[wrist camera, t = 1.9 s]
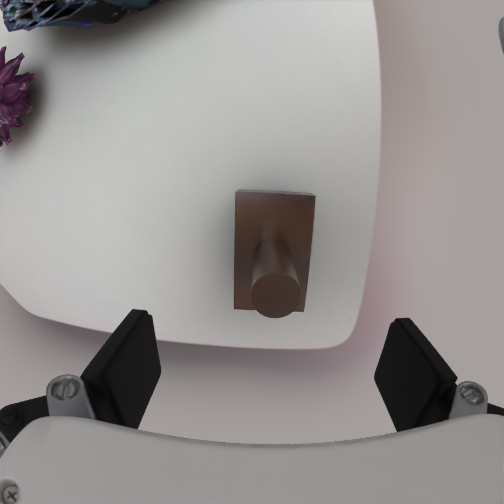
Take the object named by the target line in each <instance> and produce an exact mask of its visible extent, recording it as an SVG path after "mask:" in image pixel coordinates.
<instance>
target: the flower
mask: <svg viewBox="0 0 504 504" xmlns="http://www.w3.org/2000/svg"><path fill="white" fill-rule="evenodd" d="M5 51H6V46H5V47H2V48H1V50H0V147H1V146H3V142H2V141H4V142H5V143H6V145H9V143H11V142H12V139H11V137H10V128H12V127H17V128H19V129H21V128H22V127H23V125H24V124H23V123H22V122H21V120H20V117H19V116H20V115H22V114H25V113H27V114H29V113H30V111H31V109H32V108H33V107H31V106H29V105H27V104H26V101H29V100H32V97H33V96H32V95H33V94H28V93H27V92H25V90H27V89H28V84H29V83H30V82H31V81H32V80H34V79H35V75H36V74H34V73H33V74H30V73H29V72H28V73H26V74H23V75H16V73H17V72H18V69H19V67H20V63H21V61H22V59H23V58H24V57H25V56H24V55H23V53H20V54H19V55H18V56H17V57H16V58H14V59H11V60H10V61H8V62H7V63H6V64H5ZM15 75H16V76H15Z"/></svg>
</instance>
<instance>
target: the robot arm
mask: <svg viewBox="0 0 504 504" xmlns="http://www.w3.org/2000/svg"><path fill="white" fill-rule="evenodd" d="M160 375H161V366H160V360H159V355H158V349H157V343H156V337H155V331H154V324H153V318H152V315H149V314H148V312H147V311H146V310H137V309H132V310H131V311H130V313H129V314H128V315H127V316H126V317H125V319H124V320H123V321H122V322H121V324H120V325H119V326H118V327H117V329H116V330H115V331H114V332H113V334H112V335H111V336H110V337H109V339H108V340H107V341H106V343H105V344H104V345H103V347H102V348H101V349H100V350H99V352H98V353H97V354H96V355H95V357H94V358H93V359H92V361H91V362H90V363H89V365H88V366H87V367H86V369H85V370H84V371H83V373H82V375H81V376H80V378H79V377H78V376H75V375H70V374H67V375H61V376H58V377H56V378H54V379H53V380H52V381H51V382H50V383H49V384H48V386H47V388H46V396H42V397H38V398H34V399H30V400H26V401H23V402H19V403H14V404H10V405H8V406H5V407H4V408H2V409H1V410H0V504H504V408H501V407H498V406H495V405H492V404H489V403H487V402H488V397H487V393H486V391H485V389H484V388H483V387H482V386H480V385H479V384H477V383H475V382H470V381H465V382H462V383H460V384H459V385H458V386H457V385H456V383H455V382H456V380H457V376H456V375H455V373H454V372H453V371H452V370H451V368H450V367H449V366H448V364H447V363H446V362H445V361H444V359H443V358H442V357H441V355H440V354H439V353H438V352H437V350H436V349H435V348H434V347H433V346H432V344H431V343H430V342H429V341H428V340H427V338H426V337H425V336H424V335H423V333H422V332H421V331H420V330H419V328H418V327H417V326H416V325H415V324H414V323H413V322H412V320H411V319H410V318H397V319H395V320H394V322H392V323H391V325H390V327H389V331H388V334H387V337H386V341H385V344H384V347H383V350H382V353H381V356H380V359H379V362H378V365H377V368H376V371H375V375H374V380H375V383H376V385H377V387H378V389H379V392H380V394H381V396H382V398H383V401H384V403H385V405H386V407H387V409H388V412H389V414H390V417H391V419H392V421H393V424H394V426H395V428H396V431H397V432H396V433H390V434H385V435H379V436H374V437H367V438H360V439H353V440H344V441H335V442H323V443H308V444H241V443H227V442H214V441H205V440H197V439H189V438H182V437H176V436H170V435H164V434H158V433H153V432H148V431H142V430H138V427H139V424H140V422H141V420H142V417H143V415H144V413H145V410H146V408H147V405H148V403H149V401H150V398H151V396H152V394H153V391H154V389H155V387H156V384H157V382H158V380H159V378H160Z"/></svg>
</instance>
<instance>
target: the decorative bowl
mask: <svg viewBox="0 0 504 504" xmlns="http://www.w3.org/2000/svg"><path fill="white" fill-rule="evenodd" d="M158 2H160V0H0V9H1V10H2V11H3V19H4V24H5V25H6V27H7V29H8V31H9V32H11V31H16V30H21V29H24V30H27V31H30V30H32V29H34V28H36V27H43V26H86V27H87V26H89V25H92V24H94V23H104V24H108V23H116V22H117V21H119V20H120V19H122V18H124V17H125V16H127V15H128V14H129V13H130V12H131V11H132V10H137V11H141V10H143V9H146V8H148V7H150V6H152V5H154V4H156V3H158Z"/></svg>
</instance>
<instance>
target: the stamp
mask: <svg viewBox="0 0 504 504" xmlns="http://www.w3.org/2000/svg"><path fill="white" fill-rule="evenodd" d="M314 208H315V195H313V194H311V193H297V192H280V191H258V190H237V191H236V199H235V249H234V309H243V310H257V311H258V312H259V313H260V314H262V315H264V316H266V317H270V318H281V317H284V316H287V315H289V314H290V313H292V312H304V307H305V299H306V291H307V282H308V273H309V264H310V254H311V244H312V233H313V221H314Z"/></svg>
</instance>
